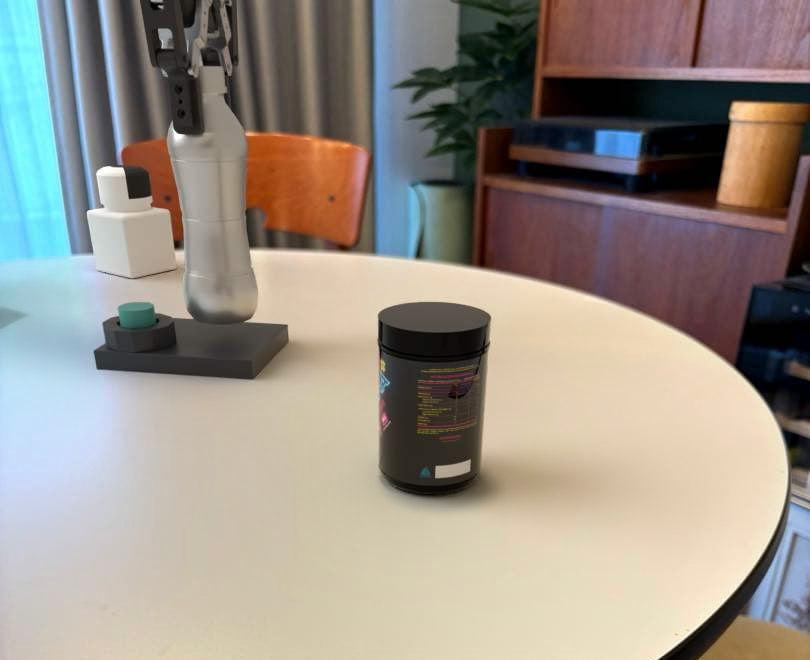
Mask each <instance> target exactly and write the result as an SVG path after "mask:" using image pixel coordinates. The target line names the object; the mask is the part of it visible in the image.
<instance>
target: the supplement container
mask: <svg viewBox="0 0 810 660" xmlns="http://www.w3.org/2000/svg"><path fill="white" fill-rule="evenodd" d="M491 329H492V316H491V314H490V313H489V312H487V311H486V310H483V309H481V308H479V307H475V306H473V305H468V304H463V303H457V302H447V301H415V302H413V301H412V302H406V303H405V302H404V303H399V304H398V303H397V304H394V305H391V306H388V307H386V308H383V309H381V310H380V311H379V312H378V313H377V340H376V342H377V347H378V349H377V350H378V353H377V354H378V356H377V357H378V469H379V472H380V474H381V476H382V477H383V479H384V480H385V481H386V482H387V483H388V484H389V483H390V484H389V485H390V486H392V487H394V486H395V487H396V488H395V487H394V488H395V489H397V488H398V490H400V491H402V490H404V491H403V492H406V491H408V492H407V493H409V492H412V493H411V494H414V493H417V494H416V495H421V494H443V495H447V494H446V493H449V494H452V493H451V492H454V493H457V492H459V491H458V490H460V491H463V490H465V489H466V487H467V488H469V487H470V486H471V485H473V483H474V482H475V481H476V480H477V479H478V477H479V475H480V474H481V471H482V459H483V458H482V457H483V444H484V442H483V441H484V429H485V428H484V427H485V414H486V413H485V412H486V400H487V399H486V398H487V397H486V395H487V383H488V365H489V350H490V347H491ZM469 485H470V486H469ZM464 488H465V489H464ZM462 489H463V490H462ZM456 491H457V492H456Z"/></svg>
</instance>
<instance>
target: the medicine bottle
mask: <svg viewBox="0 0 810 660" xmlns="http://www.w3.org/2000/svg"><path fill="white" fill-rule="evenodd" d="M95 175H96V182H97V183H96V184H97V188H98V195H99V200H100V204H101V205H103V207H100V208H94V209H89V210H87V212H86V218H87V223H88V224H87V225H88V230H89V235H90V240H91V248H92V253H93V257H94V264H95V265H94V266H95V269H96V271H98V272H102V273H105V272H106V274H110V275H113V276H114V275H115V276H118V277H119V276H120V277H122V278H128V279H137V278H138V279H139V278H141V277H147V276H150V275H155V274H160V273H164V272H169V271H173V270H174V271H175V270H176V269H177V259H176V250H175V242H174V235H173V234H174V233H173V225H172V217H171V212H170V210H169V209H167V208H162V207H161V208H160V207H155V206H151V204H152V203H153V202H154V200H153V193H152V192H153V191H152V186H151V178H150V177H151V176H150V172H149V171H148V170H147V169H146V168H144V167H142V166H140V165H130V164H116V165H107V166H103V167H101V168H100V169H98V170H97V171H96V173H95Z"/></svg>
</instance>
